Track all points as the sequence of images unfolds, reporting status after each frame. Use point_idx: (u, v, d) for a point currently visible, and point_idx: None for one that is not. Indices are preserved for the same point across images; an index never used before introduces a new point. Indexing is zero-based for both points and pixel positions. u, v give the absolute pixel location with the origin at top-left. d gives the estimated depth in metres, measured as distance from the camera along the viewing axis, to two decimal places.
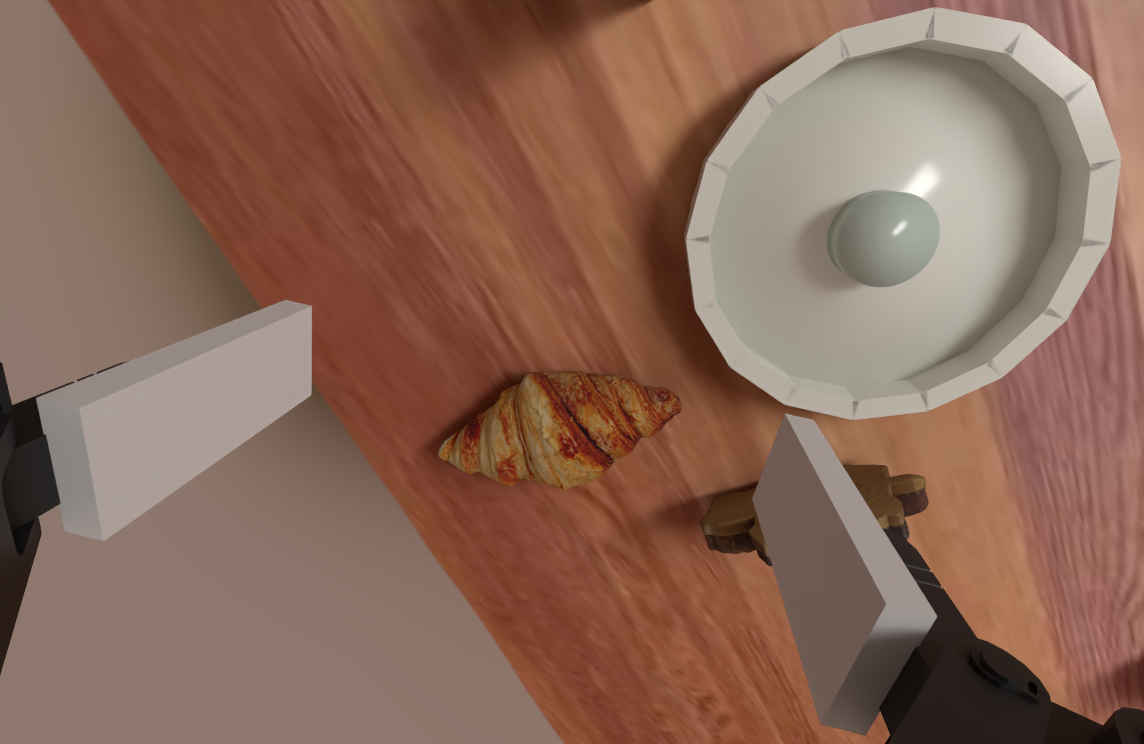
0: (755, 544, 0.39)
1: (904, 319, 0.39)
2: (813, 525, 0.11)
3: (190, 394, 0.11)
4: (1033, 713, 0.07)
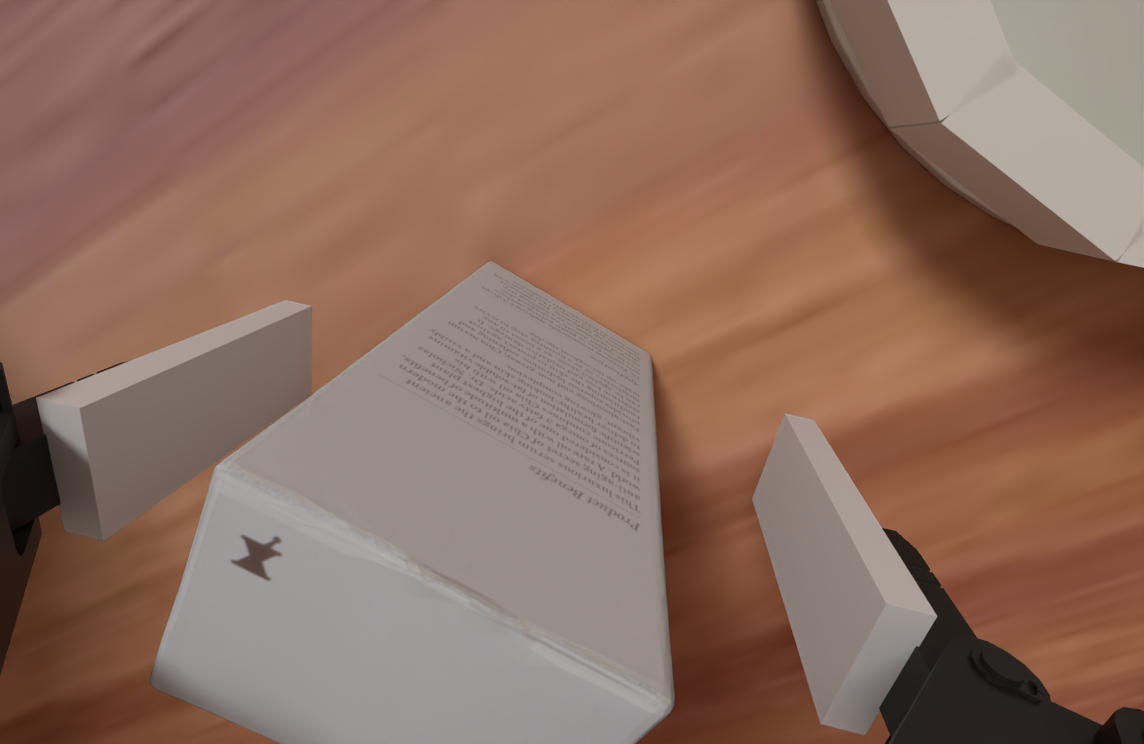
0: None
1: None
2: (813, 525, 0.11)
3: (190, 394, 0.11)
4: (1033, 713, 0.07)
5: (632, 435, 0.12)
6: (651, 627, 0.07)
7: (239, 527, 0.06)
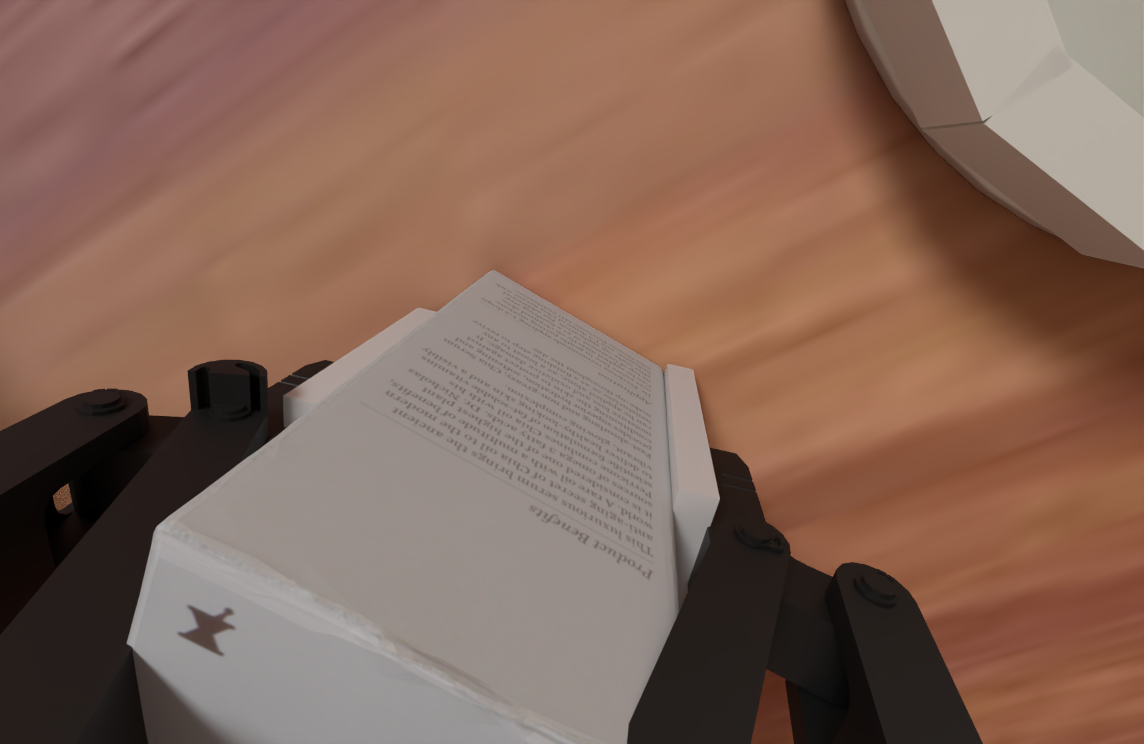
0: None
1: None
2: None
3: None
4: (778, 560, 0.09)
5: (644, 462, 0.11)
6: None
7: (183, 597, 0.05)
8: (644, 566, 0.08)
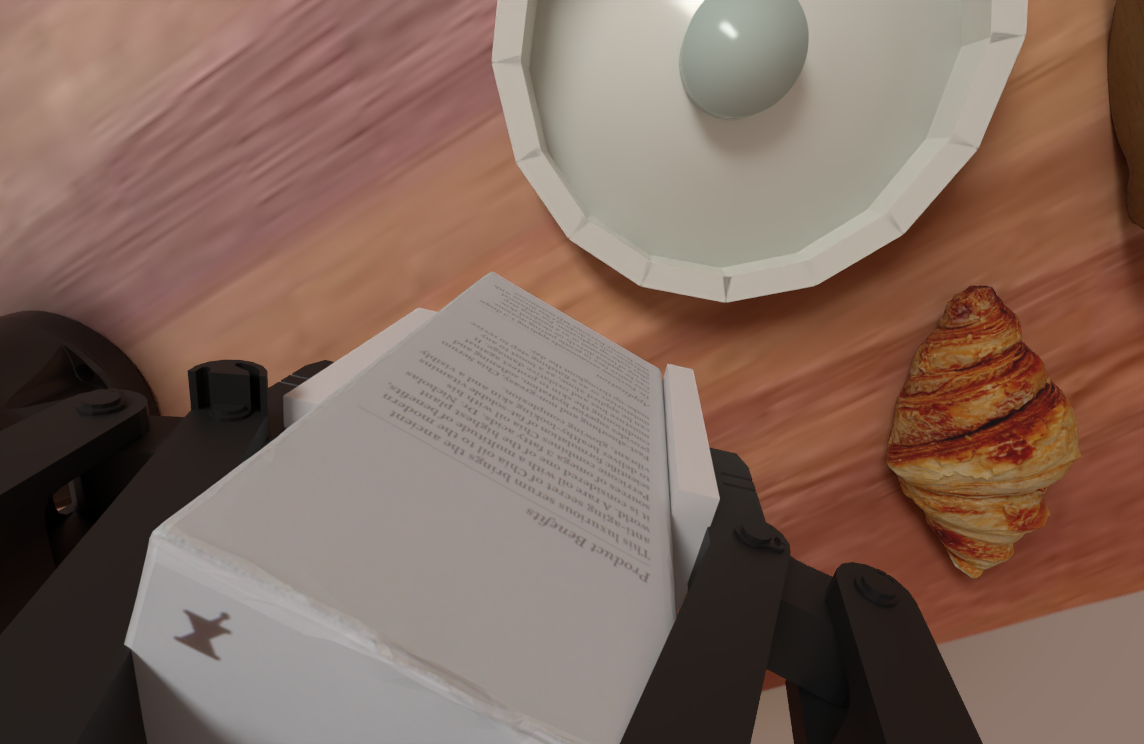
0: None
1: None
2: None
3: None
4: (778, 560, 0.09)
5: (641, 464, 0.11)
6: None
7: (180, 602, 0.05)
8: (641, 569, 0.08)
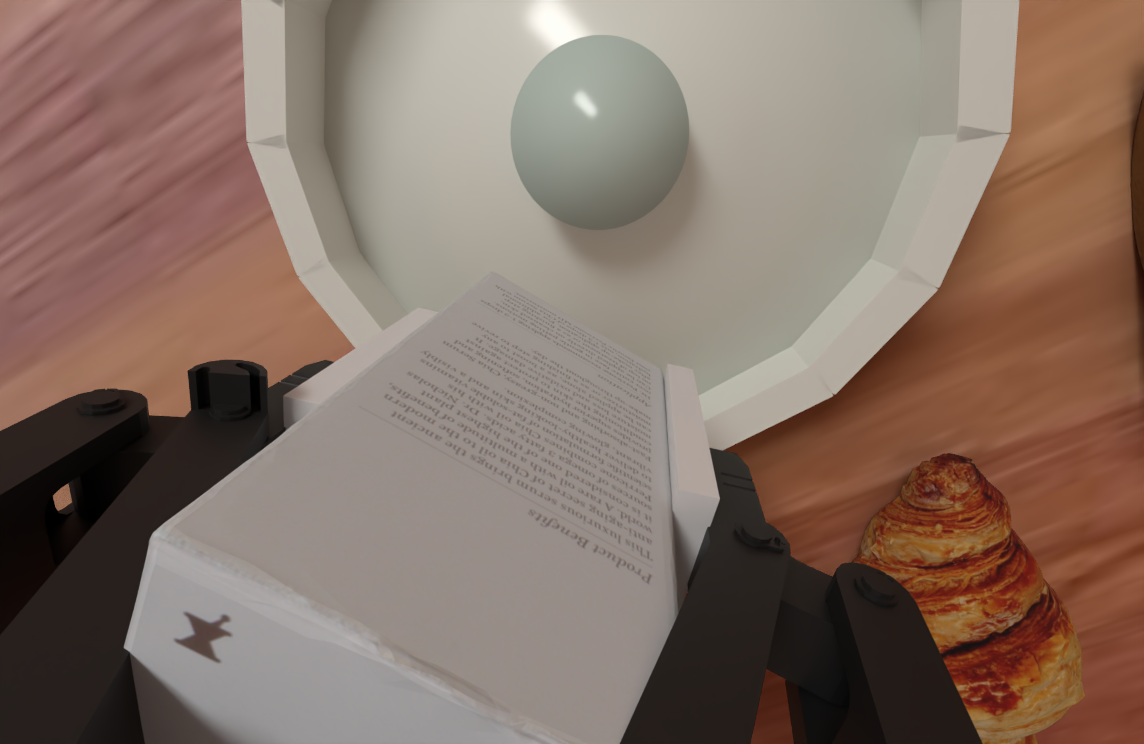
0: None
1: (772, 40, 0.19)
2: None
3: None
4: (778, 560, 0.09)
5: (643, 465, 0.11)
6: None
7: (180, 603, 0.05)
8: (643, 570, 0.08)
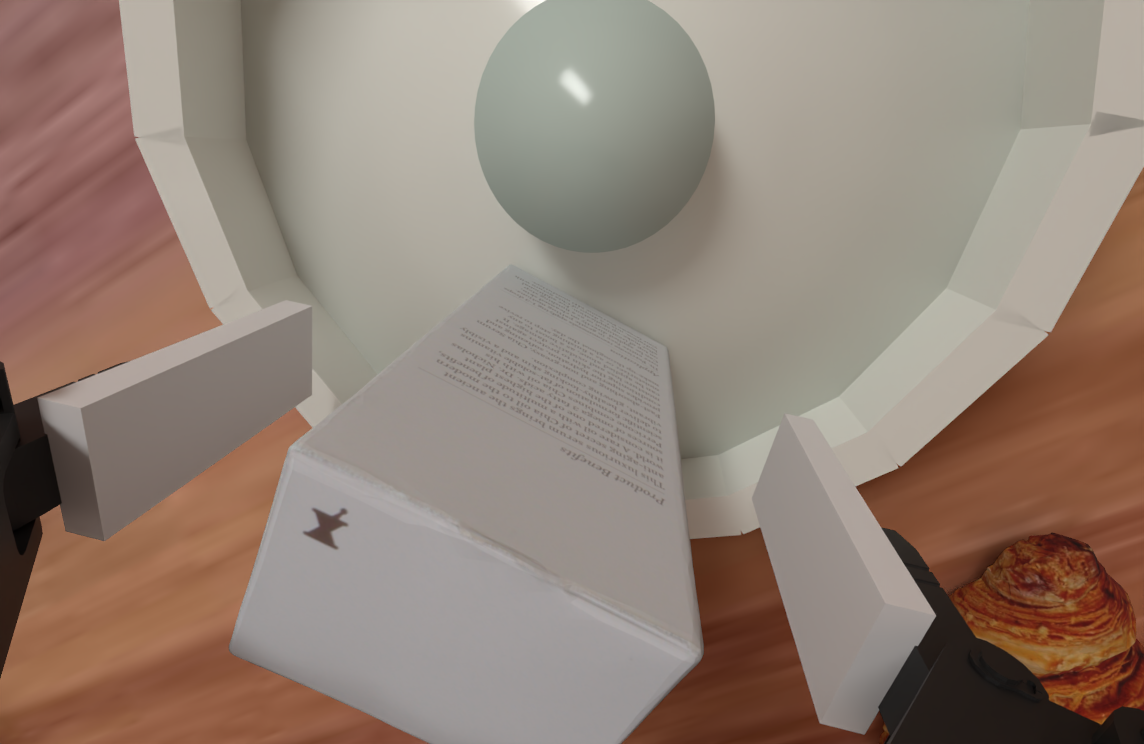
0: None
1: (825, 0, 0.14)
2: (812, 525, 0.11)
3: (191, 394, 0.11)
4: (1032, 712, 0.07)
5: (654, 421, 0.12)
6: (679, 587, 0.08)
7: (309, 501, 0.07)
8: (657, 495, 0.10)
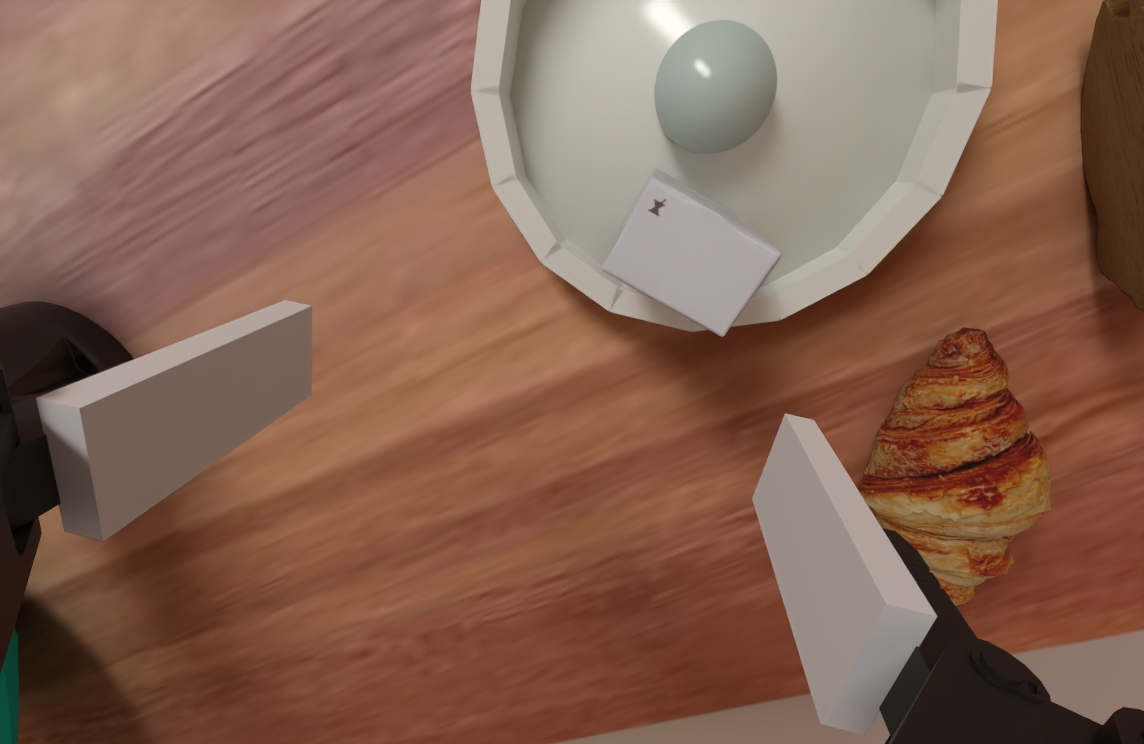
0: None
1: (833, 25, 0.28)
2: (813, 525, 0.11)
3: (190, 394, 0.11)
4: (1033, 713, 0.07)
5: (746, 224, 0.26)
6: (771, 244, 0.22)
7: (653, 196, 0.21)
8: (756, 232, 0.23)
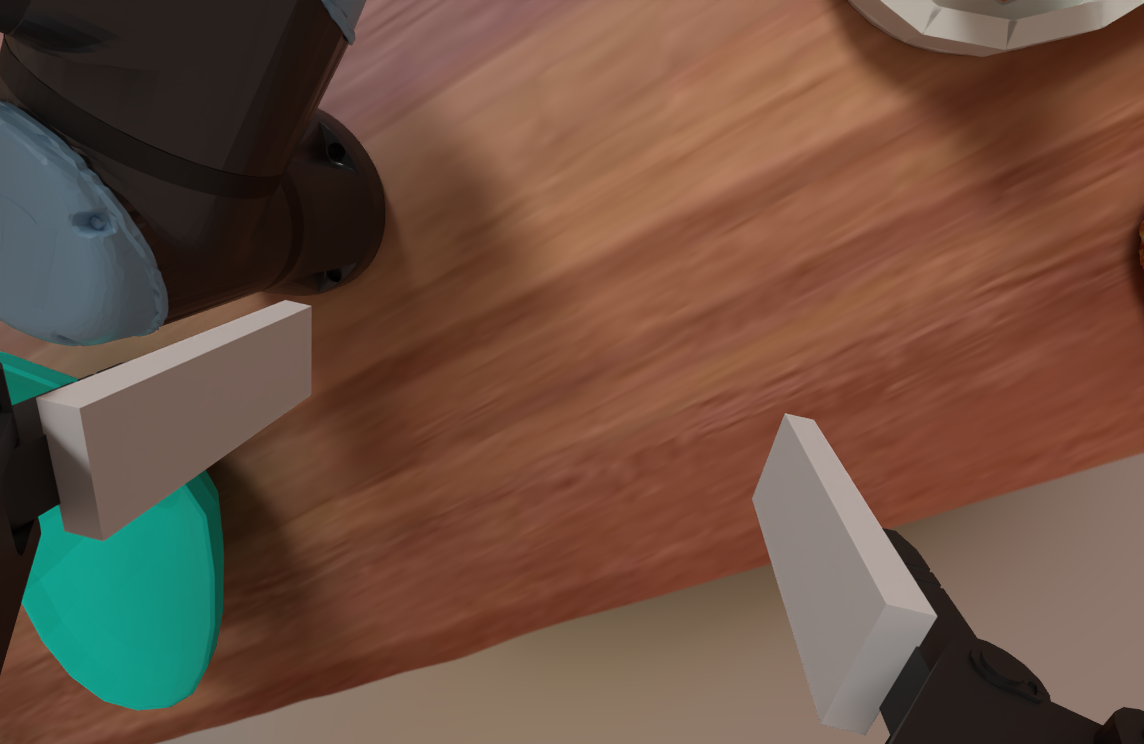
0: None
1: None
2: (813, 525, 0.11)
3: (190, 394, 0.11)
4: (1033, 713, 0.07)
5: None
6: None
7: None
8: None
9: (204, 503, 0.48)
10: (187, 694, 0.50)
